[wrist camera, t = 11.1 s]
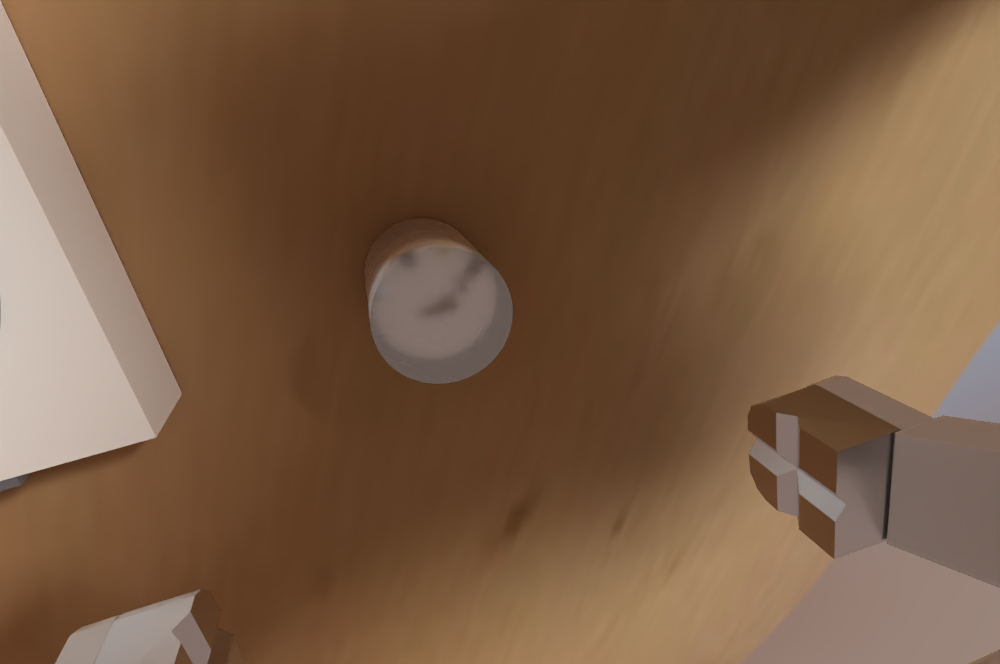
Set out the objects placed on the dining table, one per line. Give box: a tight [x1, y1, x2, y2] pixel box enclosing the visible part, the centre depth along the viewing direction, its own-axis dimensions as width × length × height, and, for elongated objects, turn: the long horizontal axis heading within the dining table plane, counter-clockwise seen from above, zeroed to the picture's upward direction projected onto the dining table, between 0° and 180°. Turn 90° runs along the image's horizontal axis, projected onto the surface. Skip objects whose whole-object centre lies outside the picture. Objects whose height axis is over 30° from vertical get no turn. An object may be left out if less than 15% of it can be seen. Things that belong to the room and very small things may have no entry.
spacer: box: [364, 218, 513, 384], centre depth 18 cm, size 4×4×5 cm
